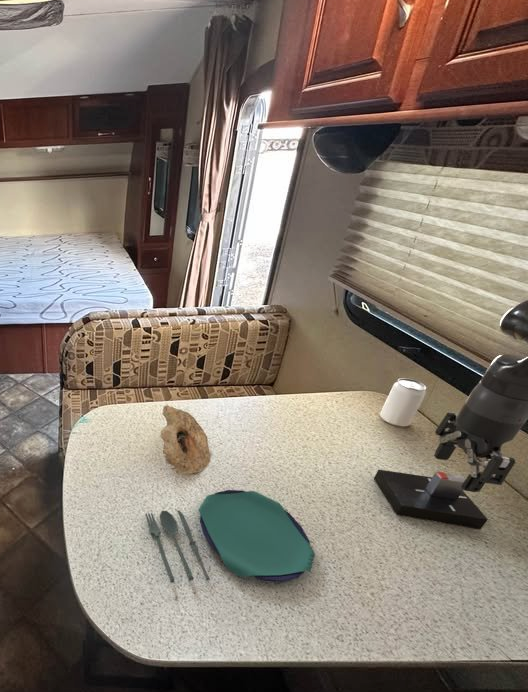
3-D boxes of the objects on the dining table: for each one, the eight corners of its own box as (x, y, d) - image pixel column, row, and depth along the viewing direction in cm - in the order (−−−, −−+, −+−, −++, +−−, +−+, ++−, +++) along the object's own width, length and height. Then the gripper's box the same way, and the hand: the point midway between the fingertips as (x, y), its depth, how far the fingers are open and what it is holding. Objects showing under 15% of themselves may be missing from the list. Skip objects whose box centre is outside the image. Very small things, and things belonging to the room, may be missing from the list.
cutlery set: (335, 582, 66) (339, 575, 65) (170, 597, 65) (171, 589, 64) (269, 492, 84) (272, 485, 83) (139, 502, 83) (140, 495, 82)
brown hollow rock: (206, 487, 93) (223, 476, 87) (152, 478, 92) (165, 466, 86) (195, 424, 105) (208, 410, 99) (146, 415, 104) (157, 401, 98)
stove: (448, 489, 82) (454, 479, 81) (480, 529, 74) (488, 519, 72) (373, 478, 86) (378, 468, 84) (396, 515, 77) (402, 504, 76)
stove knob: (450, 492, 78) (462, 474, 76) (457, 500, 76) (469, 482, 74) (425, 488, 79) (436, 470, 77) (430, 495, 78) (442, 478, 75)
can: (407, 416, 104) (425, 381, 98) (411, 430, 99) (431, 393, 94) (378, 410, 107) (394, 375, 102) (380, 422, 102) (397, 386, 97)
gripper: (557, 439, 61) (504, 506, 68) (492, 390, 73) (453, 451, 80) (499, 432, 62) (454, 498, 70) (445, 385, 75) (411, 446, 82)
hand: (453, 473), depth 75 cm, fingers open, 8 cm apart
